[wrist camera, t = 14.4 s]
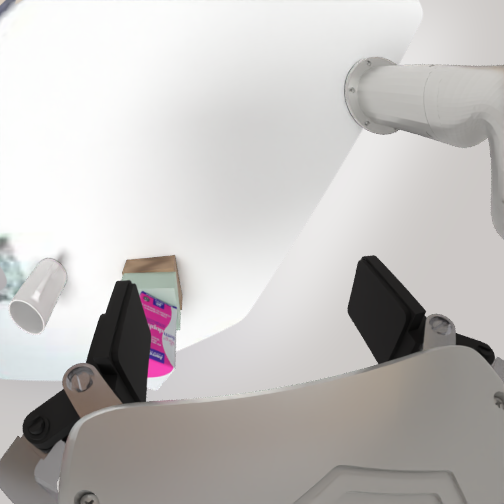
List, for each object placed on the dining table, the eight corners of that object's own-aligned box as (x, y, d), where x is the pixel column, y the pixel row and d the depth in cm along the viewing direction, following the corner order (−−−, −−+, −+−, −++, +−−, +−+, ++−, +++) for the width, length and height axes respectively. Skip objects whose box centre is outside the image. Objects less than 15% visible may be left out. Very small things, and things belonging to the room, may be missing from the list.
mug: (60, 295, 44) (37, 341, 33) (32, 273, 40) (4, 316, 30) (82, 260, 41) (57, 306, 31) (52, 235, 38) (19, 277, 28)
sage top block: (175, 271, 41) (174, 288, 38) (180, 312, 45) (180, 330, 42) (123, 273, 40) (118, 289, 36) (133, 313, 44) (129, 330, 40)
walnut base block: (175, 254, 44) (173, 268, 41) (182, 294, 48) (181, 309, 45) (127, 258, 43) (122, 272, 40) (138, 298, 47) (134, 313, 44)
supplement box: (178, 305, 39) (177, 370, 30) (160, 330, 41) (156, 393, 31) (142, 288, 37) (130, 352, 27) (126, 315, 39) (113, 377, 29)
